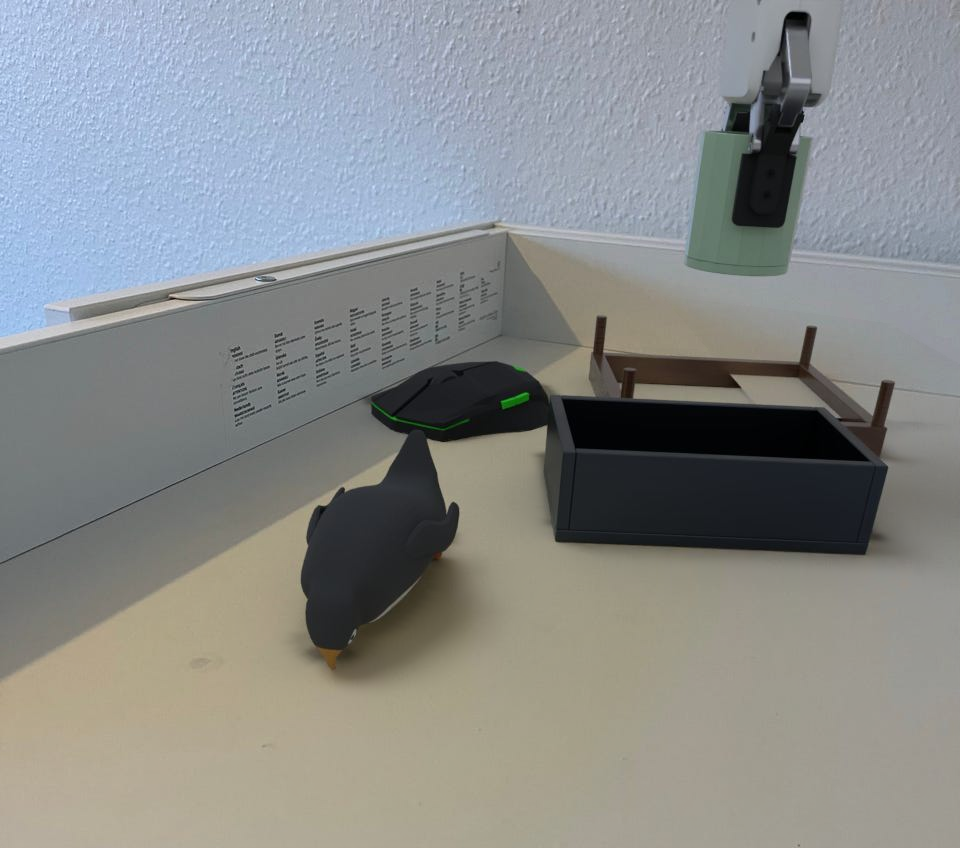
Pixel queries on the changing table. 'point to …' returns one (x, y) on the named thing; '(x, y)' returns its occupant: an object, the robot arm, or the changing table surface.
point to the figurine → (373, 547)
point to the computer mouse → (464, 401)
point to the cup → (710, 220)
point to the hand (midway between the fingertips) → (744, 216)
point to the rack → (717, 373)
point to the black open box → (708, 475)
